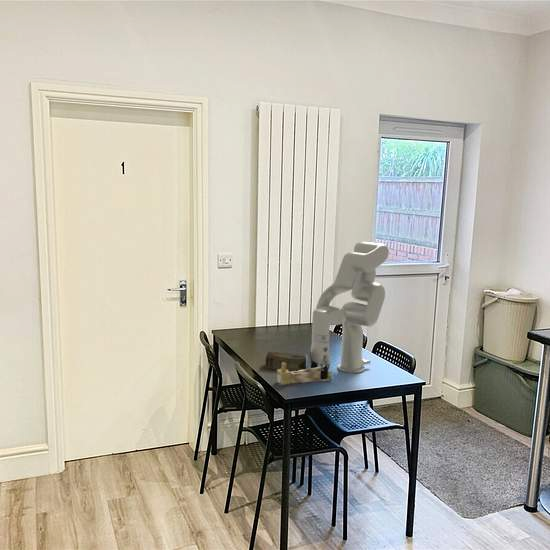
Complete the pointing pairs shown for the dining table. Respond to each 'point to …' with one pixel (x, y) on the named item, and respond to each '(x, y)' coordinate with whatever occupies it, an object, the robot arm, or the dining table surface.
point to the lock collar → (284, 374)
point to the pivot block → (279, 378)
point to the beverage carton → (286, 361)
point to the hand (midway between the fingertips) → (318, 375)
